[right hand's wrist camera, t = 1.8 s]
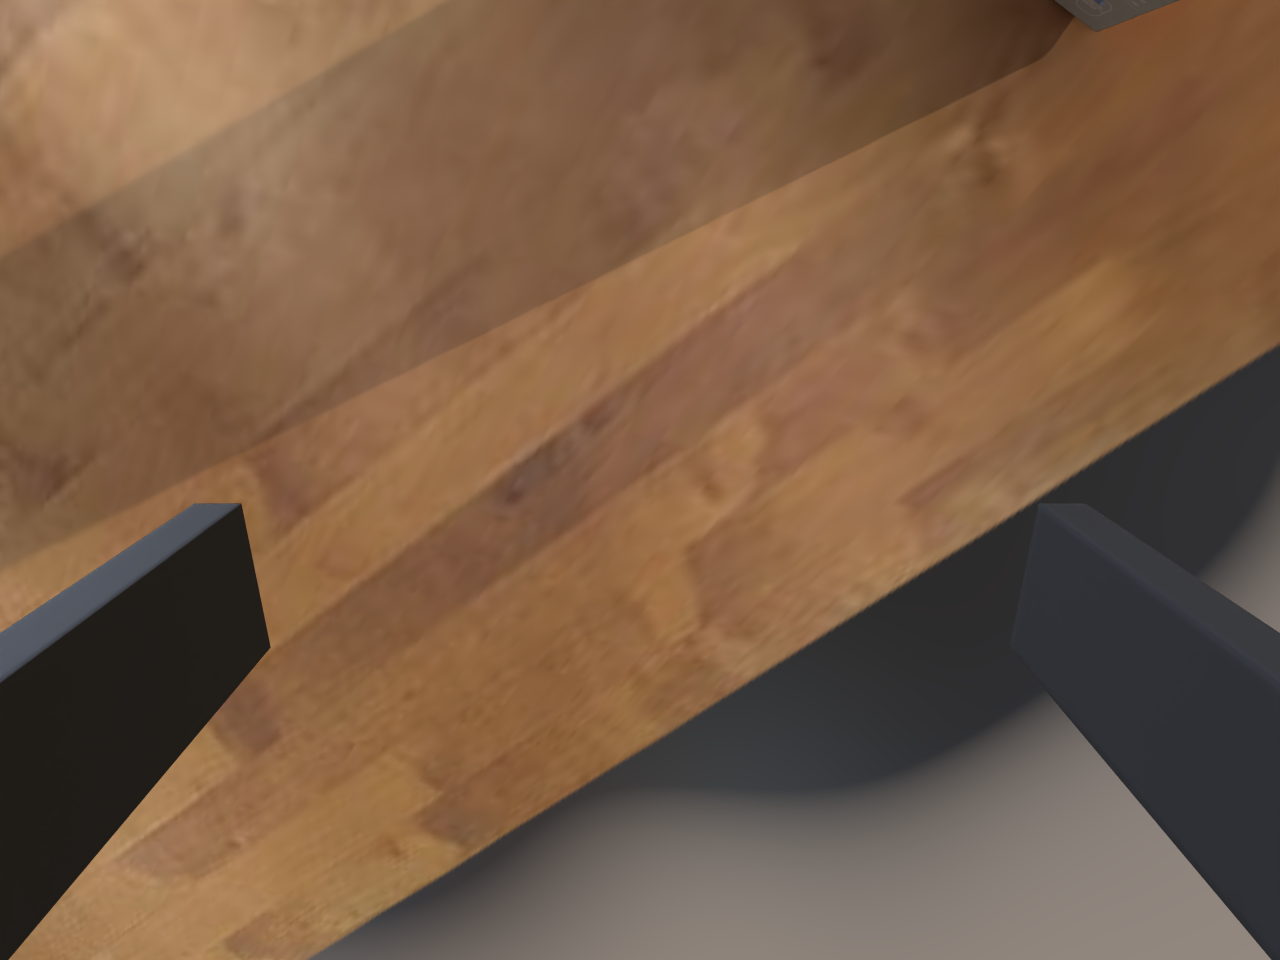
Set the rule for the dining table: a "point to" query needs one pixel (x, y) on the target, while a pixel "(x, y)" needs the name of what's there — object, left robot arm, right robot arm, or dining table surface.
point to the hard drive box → (1109, 10)
